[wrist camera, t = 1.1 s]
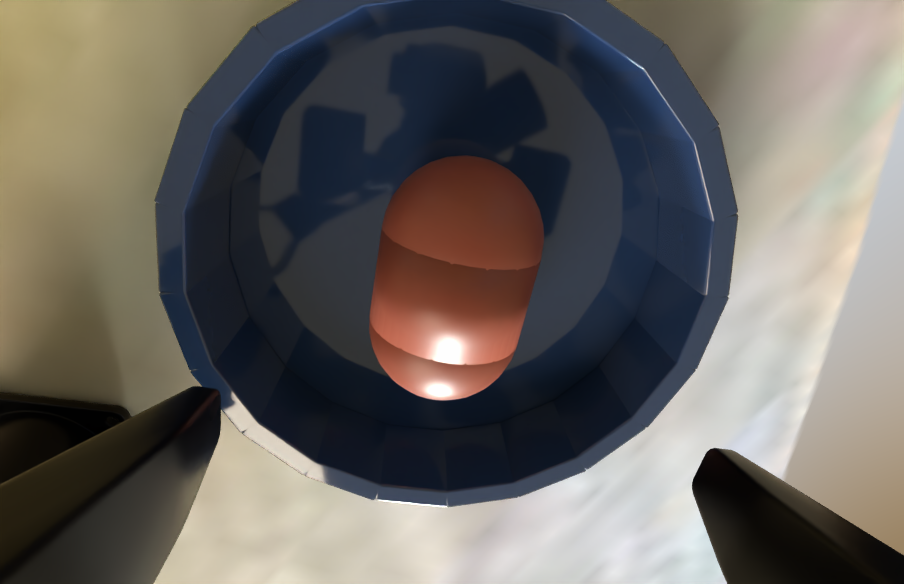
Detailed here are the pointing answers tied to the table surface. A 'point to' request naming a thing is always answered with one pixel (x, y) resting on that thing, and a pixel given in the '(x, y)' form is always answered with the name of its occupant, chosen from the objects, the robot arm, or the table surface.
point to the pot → (362, 213)
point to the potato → (454, 276)
